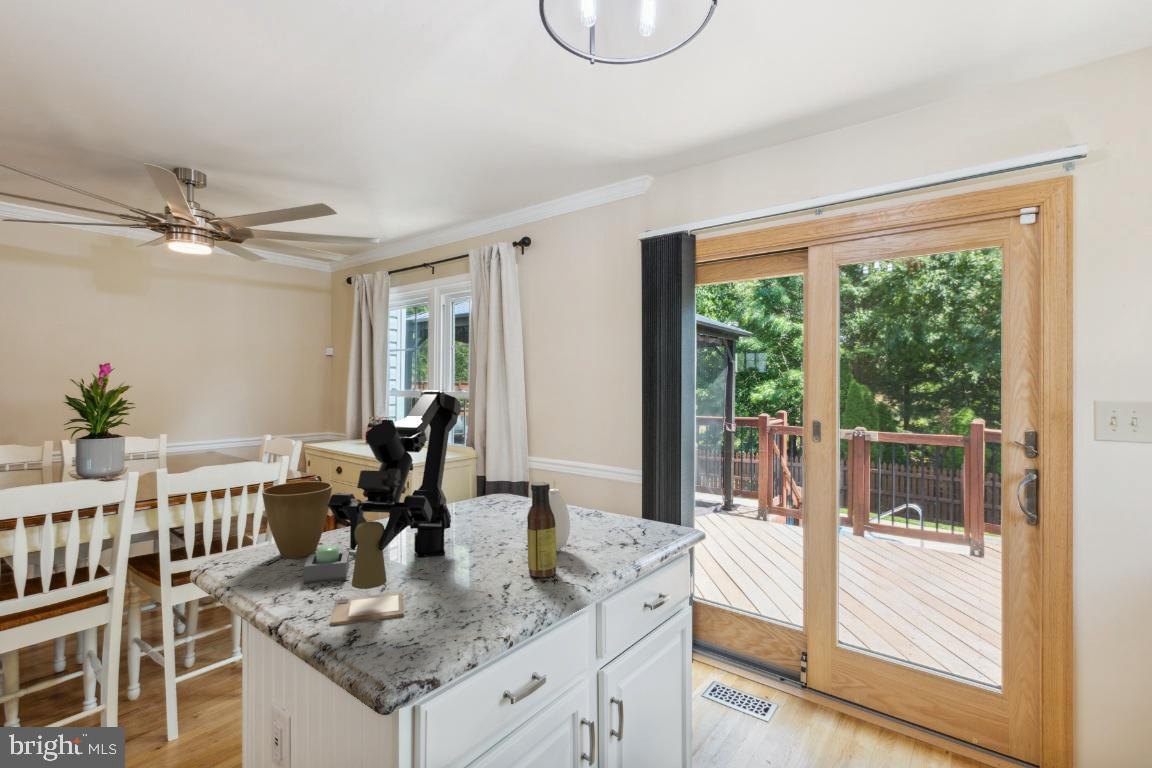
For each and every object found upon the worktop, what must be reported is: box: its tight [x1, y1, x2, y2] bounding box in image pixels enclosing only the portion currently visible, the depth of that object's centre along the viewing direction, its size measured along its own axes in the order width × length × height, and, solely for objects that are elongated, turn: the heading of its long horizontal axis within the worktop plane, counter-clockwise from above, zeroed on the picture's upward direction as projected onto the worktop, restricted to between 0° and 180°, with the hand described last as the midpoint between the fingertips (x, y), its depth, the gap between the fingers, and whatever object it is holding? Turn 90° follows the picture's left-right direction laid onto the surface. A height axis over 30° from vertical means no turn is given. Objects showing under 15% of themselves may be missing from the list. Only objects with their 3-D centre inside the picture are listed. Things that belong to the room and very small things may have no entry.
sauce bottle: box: [526, 481, 557, 579], centre depth 117 cm, size 7×6×20 cm
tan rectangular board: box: [329, 591, 405, 626], centre depth 98 cm, size 12×10×1 cm
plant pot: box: [261, 480, 333, 559], centre depth 128 cm, size 15×15×16 cm
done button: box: [315, 545, 340, 564], centre depth 115 cm, size 4×4×3 cm
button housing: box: [303, 550, 350, 584], centre depth 115 cm, size 8×8×4 cm
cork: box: [351, 520, 387, 590], centre depth 98 cm, size 6×6×11 cm
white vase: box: [549, 479, 571, 552], centre depth 133 cm, size 8×8×18 cm
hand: (366, 549), depth 97 cm, fingers closed on cork, 5 cm apart
